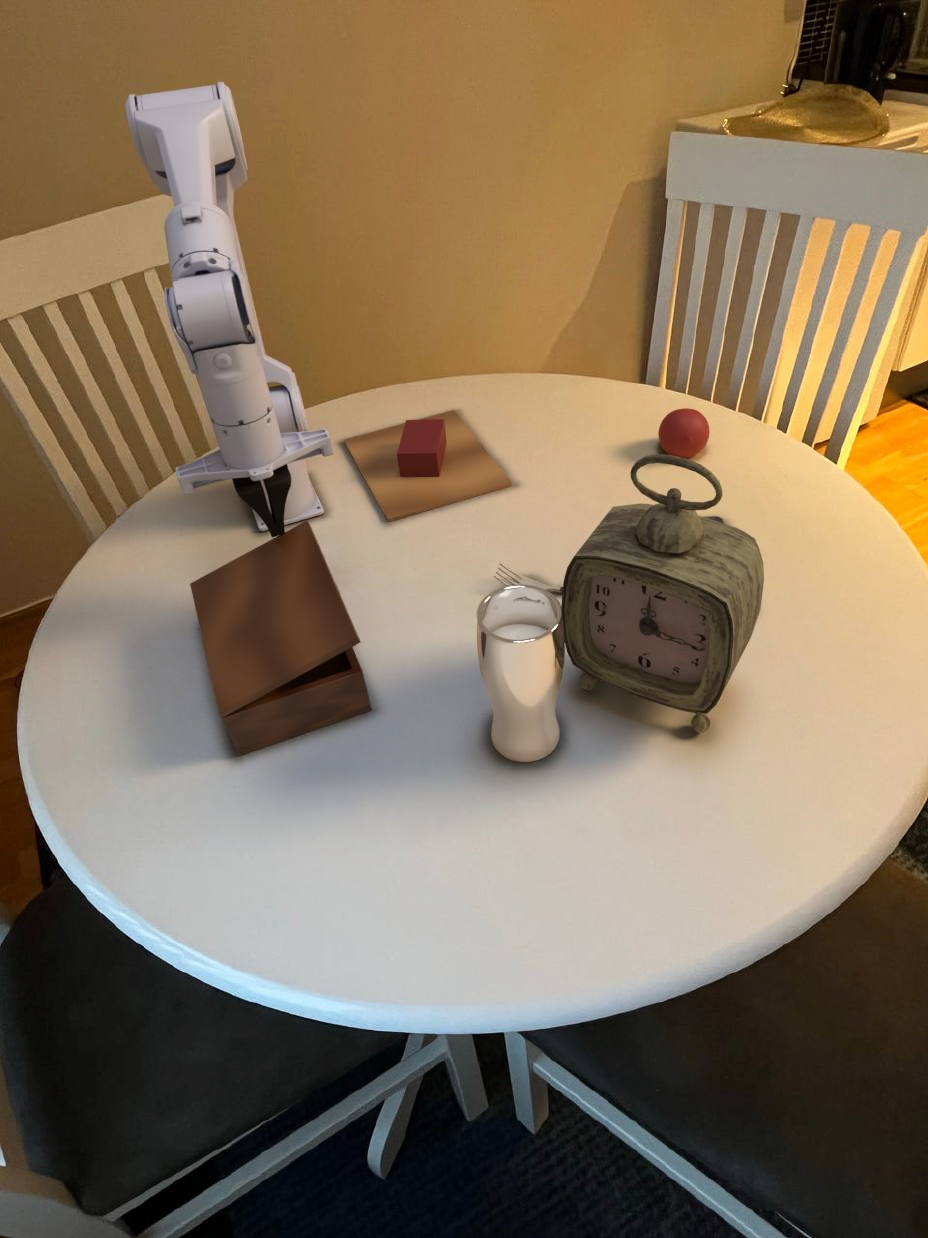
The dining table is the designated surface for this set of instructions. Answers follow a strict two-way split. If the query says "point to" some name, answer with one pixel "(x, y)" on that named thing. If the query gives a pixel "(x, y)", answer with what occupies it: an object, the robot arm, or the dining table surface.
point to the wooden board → (404, 496)
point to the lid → (270, 618)
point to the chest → (301, 704)
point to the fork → (524, 580)
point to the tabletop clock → (663, 599)
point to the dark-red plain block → (422, 448)
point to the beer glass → (522, 668)
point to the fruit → (684, 433)
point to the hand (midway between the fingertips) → (276, 530)
